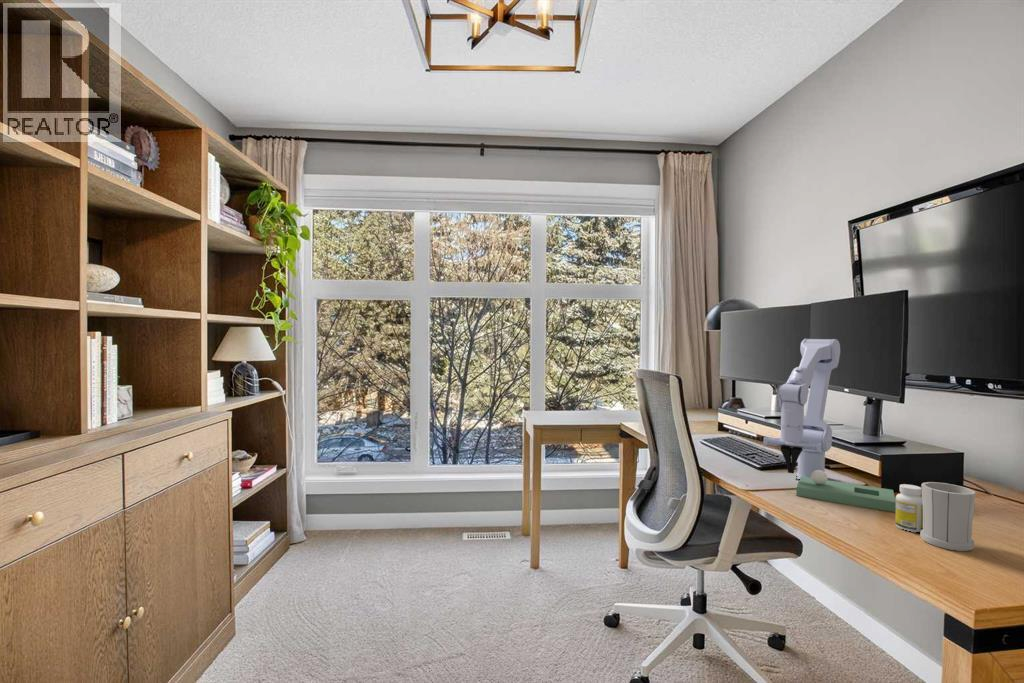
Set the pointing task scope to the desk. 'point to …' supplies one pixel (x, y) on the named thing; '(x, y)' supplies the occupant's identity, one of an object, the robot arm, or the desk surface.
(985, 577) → the desk surface
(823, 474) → the ball
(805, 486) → the putting board
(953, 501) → the cup
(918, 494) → the supplement bottle
